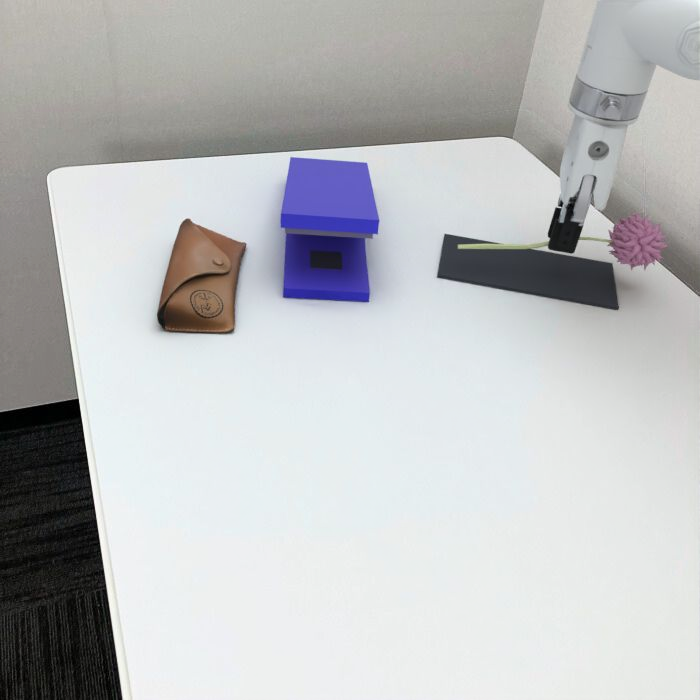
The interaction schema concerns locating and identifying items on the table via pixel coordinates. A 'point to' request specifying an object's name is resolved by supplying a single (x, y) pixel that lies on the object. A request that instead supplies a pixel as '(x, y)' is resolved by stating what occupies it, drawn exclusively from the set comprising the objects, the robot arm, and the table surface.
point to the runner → (530, 272)
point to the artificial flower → (614, 242)
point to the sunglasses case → (200, 282)
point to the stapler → (327, 229)
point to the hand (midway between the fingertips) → (560, 243)
